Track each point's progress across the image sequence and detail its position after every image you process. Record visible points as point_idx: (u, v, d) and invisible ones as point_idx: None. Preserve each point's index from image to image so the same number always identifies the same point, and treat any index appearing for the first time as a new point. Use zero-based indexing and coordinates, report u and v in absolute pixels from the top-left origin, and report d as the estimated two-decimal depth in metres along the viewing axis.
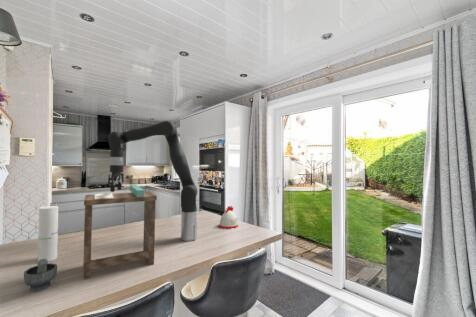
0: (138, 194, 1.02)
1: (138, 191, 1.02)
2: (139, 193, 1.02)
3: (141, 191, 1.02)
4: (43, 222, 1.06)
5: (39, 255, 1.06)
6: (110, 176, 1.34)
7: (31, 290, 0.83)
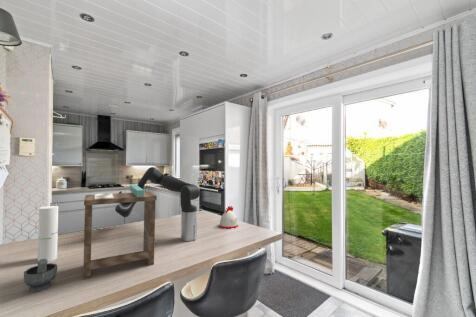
0: (138, 194, 1.02)
1: (138, 191, 1.02)
2: (139, 193, 1.02)
3: (141, 191, 1.02)
4: (43, 222, 1.06)
5: (39, 255, 1.06)
6: None
7: (31, 290, 0.83)
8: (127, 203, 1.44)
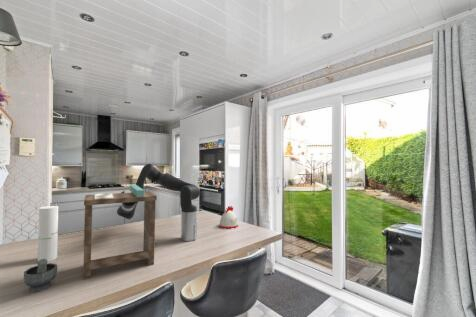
0: (138, 194, 1.02)
1: (138, 191, 1.02)
2: (139, 193, 1.02)
3: (141, 191, 1.02)
4: (43, 222, 1.06)
5: (39, 255, 1.06)
6: None
7: (31, 290, 0.83)
8: (130, 204, 1.33)
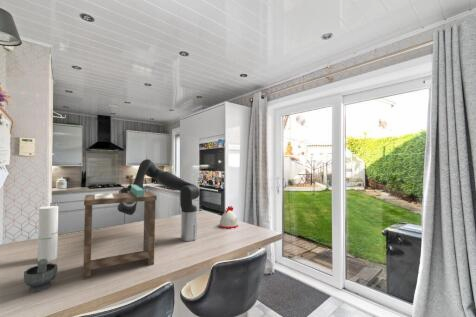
0: (138, 194, 1.02)
1: (138, 191, 1.02)
2: (139, 193, 1.02)
3: (141, 191, 1.02)
4: (43, 222, 1.06)
5: (39, 255, 1.06)
6: None
7: (31, 290, 0.83)
8: None
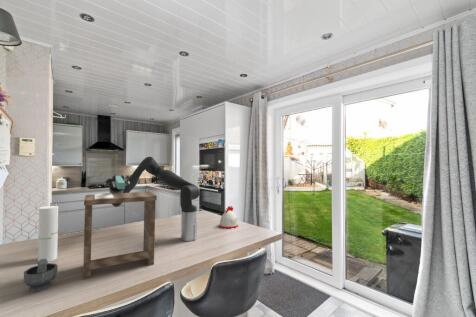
0: (119, 186, 1.07)
1: (119, 183, 1.07)
2: (120, 185, 1.07)
3: (122, 183, 1.08)
4: (43, 222, 1.06)
5: (39, 255, 1.06)
6: (104, 183, 1.27)
7: (31, 290, 0.83)
8: (117, 190, 1.33)
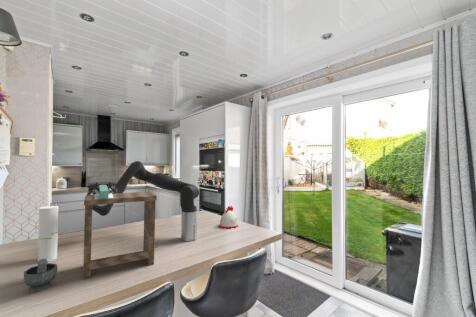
0: (101, 195, 0.94)
1: (101, 192, 0.94)
2: (103, 194, 0.95)
3: (105, 192, 0.95)
4: (43, 222, 1.06)
5: (39, 255, 1.06)
6: (87, 192, 1.15)
7: (31, 290, 0.83)
8: None
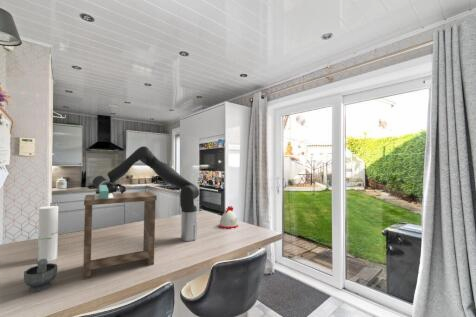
0: (101, 195, 0.94)
1: (101, 192, 0.94)
2: (103, 194, 0.95)
3: (105, 192, 0.95)
4: (43, 222, 1.06)
5: (39, 255, 1.06)
6: None
7: (31, 290, 0.83)
8: None
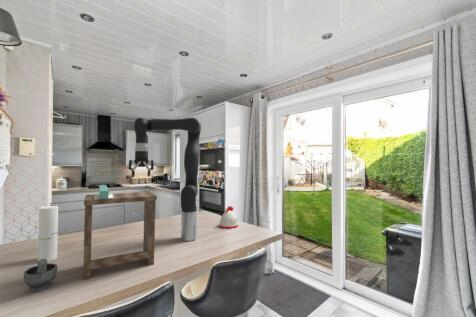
0: (101, 195, 0.94)
1: (101, 192, 0.94)
2: (103, 194, 0.95)
3: (105, 192, 0.95)
4: (43, 222, 1.06)
5: (39, 255, 1.06)
6: (129, 161, 1.38)
7: (31, 290, 0.83)
8: None
